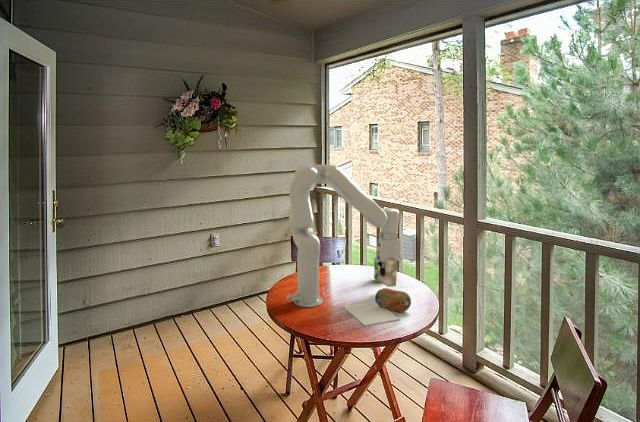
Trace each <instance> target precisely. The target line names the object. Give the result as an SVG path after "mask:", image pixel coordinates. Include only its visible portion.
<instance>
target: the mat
mask: <svg viewBox="0 0 640 422" xmlns="http://www.w3.org/2000/svg"><path fill="white" fill-rule="evenodd" d="M343 308H344V309H345V310H346V312H348V313H349V314H350V315H351V316H352V317H354V318H355V319H356V320H357V321H358V322H359V323H360V324H362V325H363V327H366V326H367V327H368V326H373V325H379V324H386V323H390V322H396V321H397V322H398V321H400V320H401V319H400V318H399V317H398V316H396V314H394V313H393V312H391V310H389V309H384V308H381V307H380V306H379V305H378V304H377V303H376V300H375V301H370V302H364V303H355V304H351V305H350V304H349V305H343Z"/></svg>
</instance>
